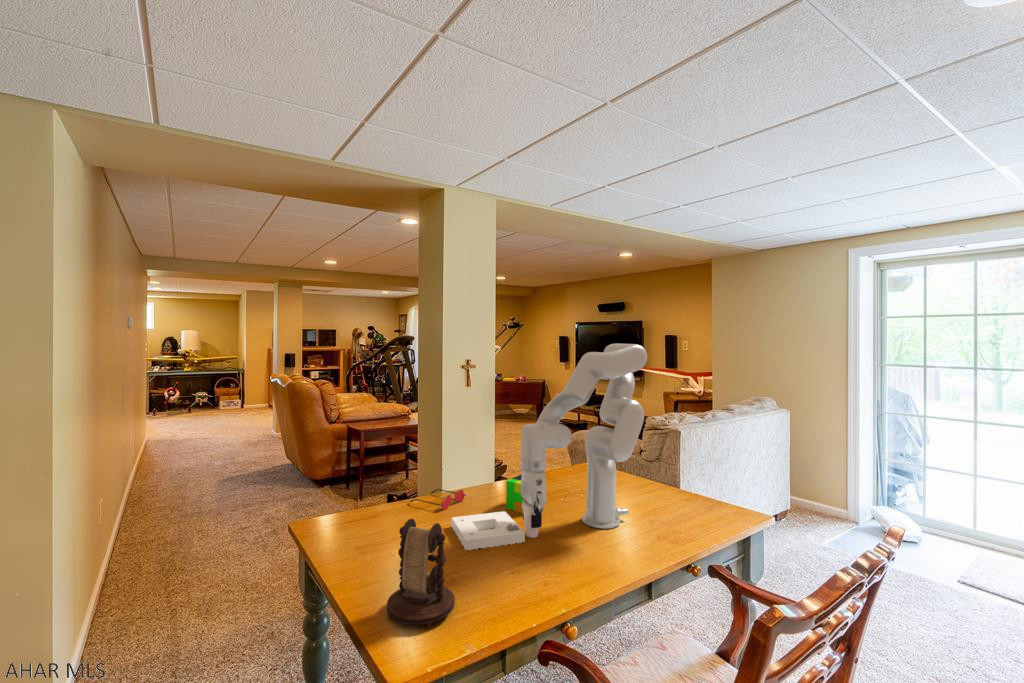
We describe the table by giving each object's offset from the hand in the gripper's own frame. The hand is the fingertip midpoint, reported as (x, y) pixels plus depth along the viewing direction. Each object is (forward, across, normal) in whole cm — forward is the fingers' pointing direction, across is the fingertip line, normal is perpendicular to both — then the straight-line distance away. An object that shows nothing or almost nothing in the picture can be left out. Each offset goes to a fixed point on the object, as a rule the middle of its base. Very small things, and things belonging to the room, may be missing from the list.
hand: (531, 522), depth 148 cm
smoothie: (+4, 0, 0) cm, 4 cm away
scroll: (+4, -30, +39) cm, 49 cm away
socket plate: (+4, +5, +13) cm, 14 cm away
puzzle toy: (+4, +23, -7) cm, 24 cm away
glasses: (+5, +38, +22) cm, 44 cm away
